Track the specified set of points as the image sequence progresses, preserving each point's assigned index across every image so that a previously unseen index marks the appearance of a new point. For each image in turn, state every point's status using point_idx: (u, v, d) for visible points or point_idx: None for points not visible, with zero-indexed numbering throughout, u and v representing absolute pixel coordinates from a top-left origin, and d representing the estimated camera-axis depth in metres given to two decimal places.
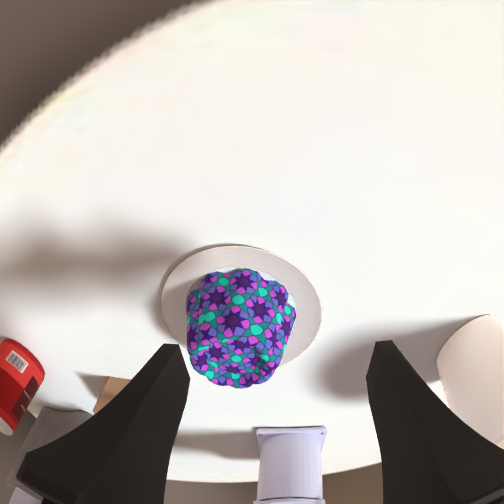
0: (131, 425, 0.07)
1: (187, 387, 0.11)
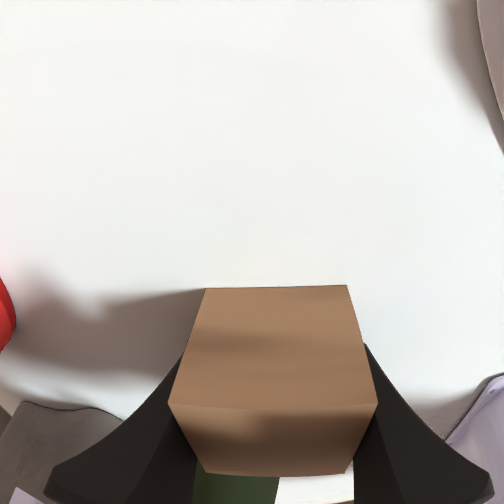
0: (166, 431, 0.07)
1: None
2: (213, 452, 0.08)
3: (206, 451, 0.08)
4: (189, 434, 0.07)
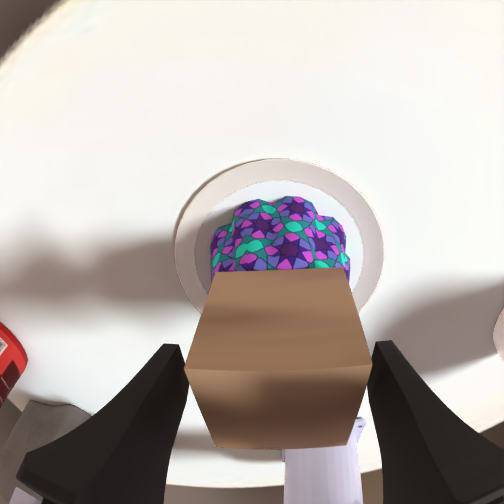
0: (131, 425, 0.07)
1: (187, 387, 0.11)
2: (223, 422, 0.09)
3: (217, 421, 0.09)
4: (202, 402, 0.08)
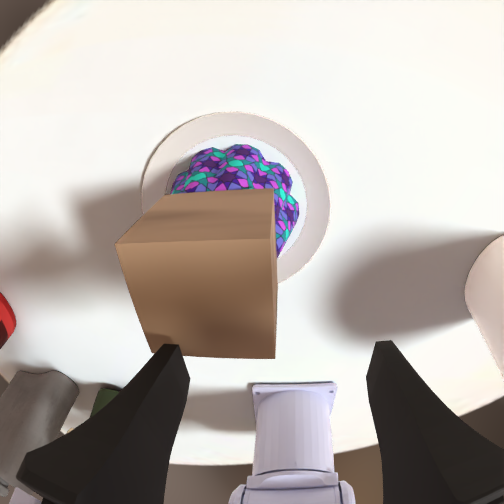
0: (131, 425, 0.07)
1: (187, 387, 0.11)
2: (152, 313, 0.10)
3: (146, 313, 0.10)
4: (131, 286, 0.10)
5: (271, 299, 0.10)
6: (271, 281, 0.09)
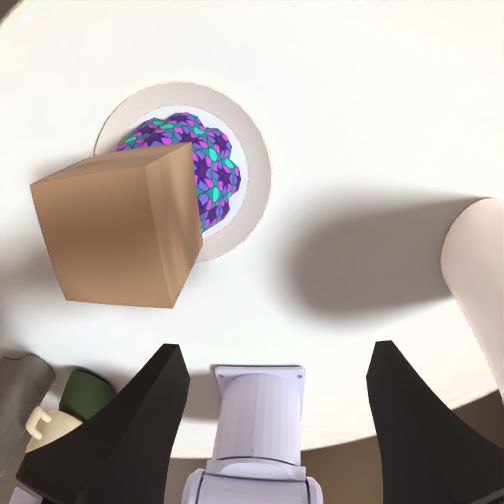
0: (131, 425, 0.07)
1: (187, 387, 0.11)
2: (60, 254, 0.10)
3: (56, 254, 0.10)
4: (43, 226, 0.09)
5: (155, 234, 0.09)
6: (152, 213, 0.09)
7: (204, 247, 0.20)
